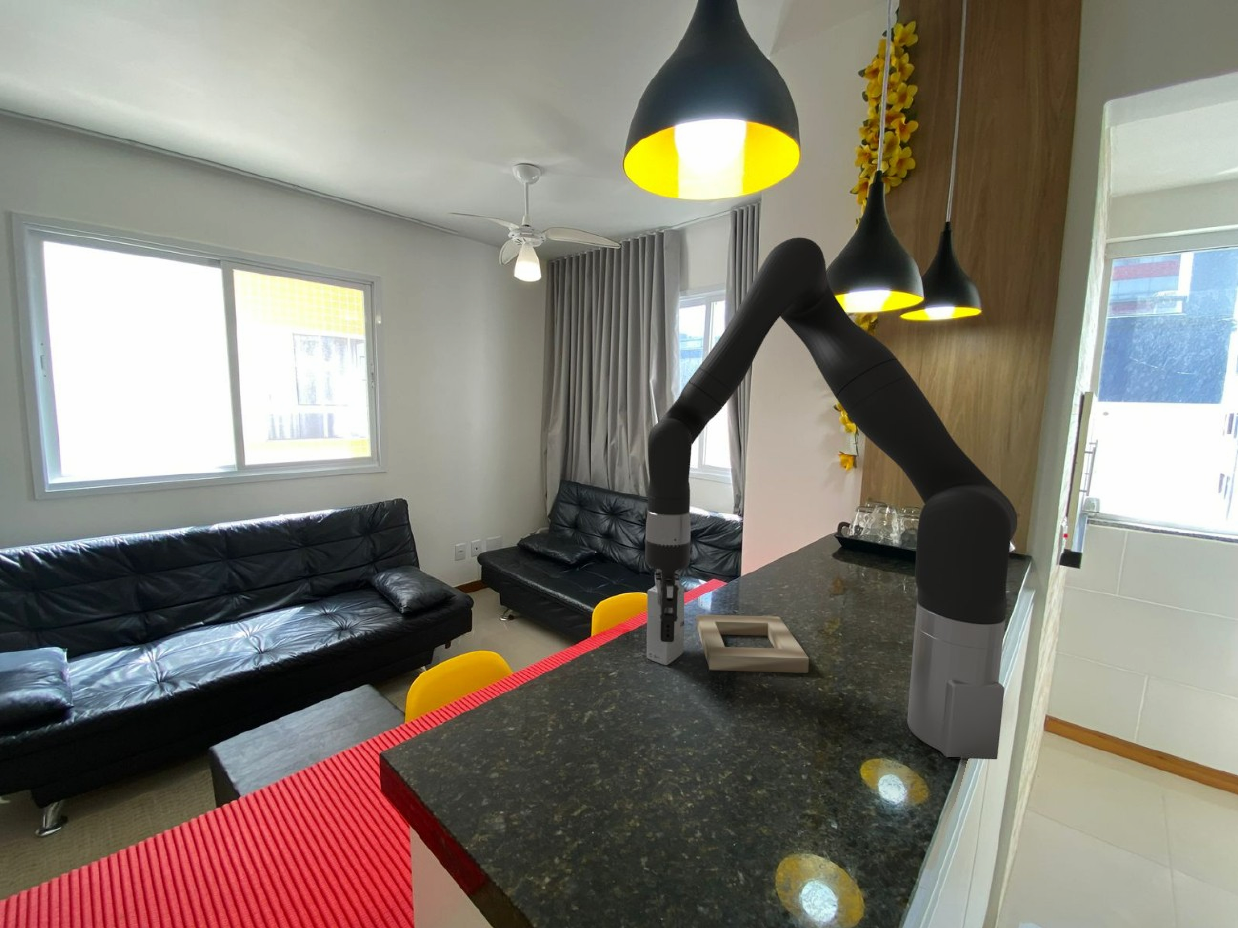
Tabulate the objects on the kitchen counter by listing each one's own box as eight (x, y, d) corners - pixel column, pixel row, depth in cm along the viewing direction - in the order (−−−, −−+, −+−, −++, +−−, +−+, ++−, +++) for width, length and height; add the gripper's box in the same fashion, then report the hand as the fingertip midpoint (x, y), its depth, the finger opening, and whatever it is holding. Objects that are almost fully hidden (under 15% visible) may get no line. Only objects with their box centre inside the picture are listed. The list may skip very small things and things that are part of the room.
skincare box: (667, 666, 79) (669, 596, 77) (644, 658, 81) (646, 590, 80) (684, 651, 84) (686, 585, 82) (662, 644, 86) (664, 580, 85)
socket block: (808, 672, 77) (808, 658, 77) (709, 669, 78) (710, 655, 78) (778, 628, 93) (778, 616, 93) (696, 626, 94) (696, 614, 94)
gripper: (695, 549, 73) (692, 651, 75) (685, 527, 87) (682, 613, 89) (646, 548, 73) (644, 650, 75) (644, 526, 88) (642, 612, 89)
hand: (665, 630), depth 82 cm, fingers closed on skincare box, 7 cm apart
